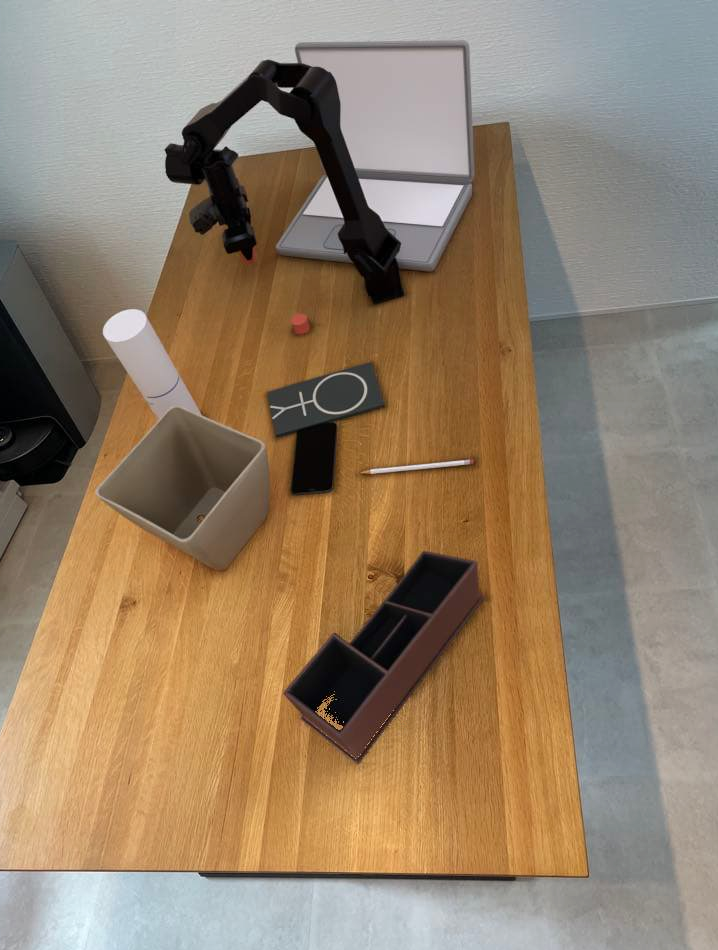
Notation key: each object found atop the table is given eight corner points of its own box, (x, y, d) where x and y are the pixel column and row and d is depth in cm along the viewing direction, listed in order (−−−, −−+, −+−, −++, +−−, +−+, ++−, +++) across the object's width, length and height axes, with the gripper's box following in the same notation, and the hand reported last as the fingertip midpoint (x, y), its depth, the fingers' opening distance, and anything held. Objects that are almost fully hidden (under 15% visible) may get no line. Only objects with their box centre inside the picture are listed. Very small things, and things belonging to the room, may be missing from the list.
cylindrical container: (199, 445, 123) (136, 341, 102) (164, 444, 125) (95, 341, 104) (211, 415, 127) (152, 308, 106) (176, 414, 129) (112, 309, 108)
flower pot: (297, 506, 112) (267, 442, 98) (228, 598, 106) (185, 543, 91) (212, 467, 120) (173, 402, 106) (143, 550, 114) (91, 493, 99)
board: (371, 364, 126) (370, 361, 125) (384, 407, 120) (383, 403, 119) (268, 394, 127) (266, 391, 126) (276, 438, 121) (274, 434, 120)
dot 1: (256, 252, 145) (252, 241, 143) (258, 261, 143) (254, 250, 141) (242, 256, 145) (238, 246, 143) (243, 265, 143) (240, 255, 141)
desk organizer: (300, 719, 93) (277, 693, 84) (426, 563, 102) (418, 523, 93) (358, 766, 89) (340, 744, 79) (485, 598, 98) (483, 560, 88)
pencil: (474, 464, 110) (473, 462, 109) (360, 475, 113) (359, 473, 112) (473, 460, 110) (473, 458, 110) (360, 472, 113) (359, 469, 113)
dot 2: (308, 321, 135) (305, 311, 133) (311, 331, 134) (308, 321, 132) (293, 325, 136) (289, 316, 133) (295, 336, 134) (292, 326, 132)
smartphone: (298, 428, 122) (290, 497, 114) (297, 425, 121) (289, 494, 113) (338, 424, 121) (333, 493, 113) (337, 421, 120) (332, 490, 112)
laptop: (277, 257, 148) (232, 120, 124) (328, 179, 160) (296, 40, 135) (432, 275, 135) (416, 126, 111) (476, 189, 147) (470, 38, 123)
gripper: (180, 171, 136) (208, 239, 149) (185, 224, 126) (216, 293, 139) (233, 154, 135) (257, 225, 148) (243, 206, 125) (268, 277, 138)
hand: (248, 254), depth 143 cm, fingers closed on dot 1, 3 cm apart
